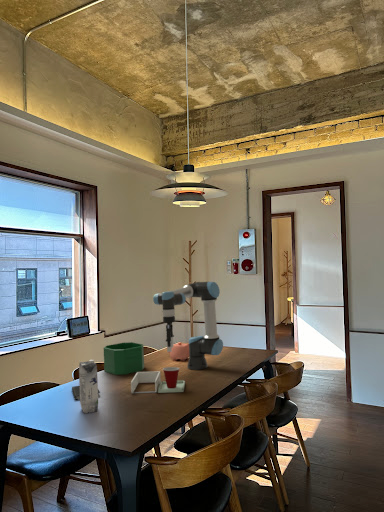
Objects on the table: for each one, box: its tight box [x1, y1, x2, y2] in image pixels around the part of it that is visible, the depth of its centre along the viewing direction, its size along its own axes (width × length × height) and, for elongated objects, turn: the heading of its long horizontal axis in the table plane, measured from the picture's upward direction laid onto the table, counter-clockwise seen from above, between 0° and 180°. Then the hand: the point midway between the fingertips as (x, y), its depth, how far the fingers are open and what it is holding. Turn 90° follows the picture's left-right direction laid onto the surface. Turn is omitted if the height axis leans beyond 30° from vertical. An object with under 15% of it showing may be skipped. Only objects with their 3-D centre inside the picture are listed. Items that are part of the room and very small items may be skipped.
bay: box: [130, 370, 162, 395], centre depth 254 cm, size 23×16×7 cm
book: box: [71, 385, 101, 401], centre depth 247 cm, size 22×15×3 cm
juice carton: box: [78, 359, 99, 414], centre depth 217 cm, size 9×10×27 cm
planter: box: [103, 341, 145, 376], centre depth 304 cm, size 26×26×18 cm
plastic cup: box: [162, 366, 180, 388], centre depth 251 cm, size 11×11×12 cm
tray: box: [157, 380, 186, 394], centre depth 250 cm, size 18×16×2 cm
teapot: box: [167, 341, 189, 362], centre depth 329 cm, size 22×13×14 cm, turn 71°
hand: (170, 349), depth 251 cm, fingers open, 13 cm apart
